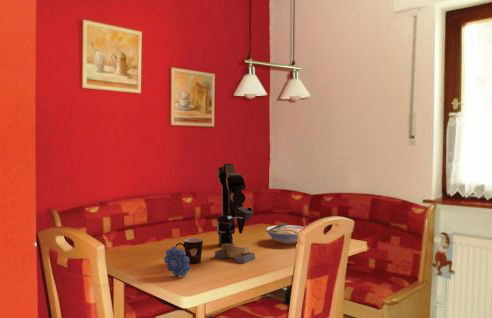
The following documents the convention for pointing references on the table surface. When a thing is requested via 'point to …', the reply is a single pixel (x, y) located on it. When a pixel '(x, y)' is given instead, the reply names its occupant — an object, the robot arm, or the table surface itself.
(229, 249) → the brown rectangular block
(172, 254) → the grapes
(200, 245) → the coffee mug
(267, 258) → the table surface
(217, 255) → the grey frame
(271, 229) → the ramen bowl
